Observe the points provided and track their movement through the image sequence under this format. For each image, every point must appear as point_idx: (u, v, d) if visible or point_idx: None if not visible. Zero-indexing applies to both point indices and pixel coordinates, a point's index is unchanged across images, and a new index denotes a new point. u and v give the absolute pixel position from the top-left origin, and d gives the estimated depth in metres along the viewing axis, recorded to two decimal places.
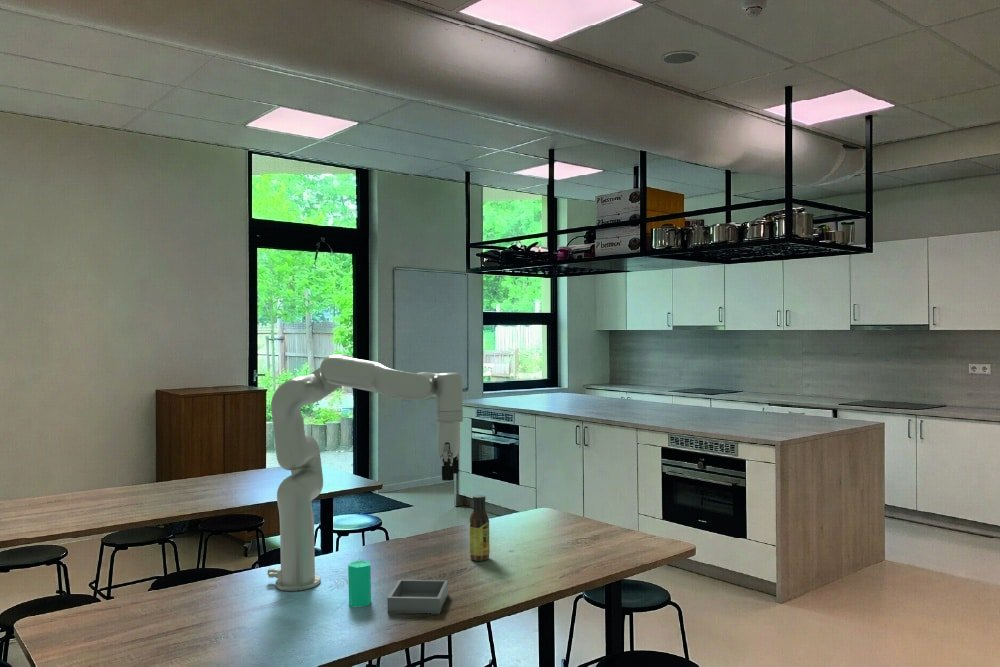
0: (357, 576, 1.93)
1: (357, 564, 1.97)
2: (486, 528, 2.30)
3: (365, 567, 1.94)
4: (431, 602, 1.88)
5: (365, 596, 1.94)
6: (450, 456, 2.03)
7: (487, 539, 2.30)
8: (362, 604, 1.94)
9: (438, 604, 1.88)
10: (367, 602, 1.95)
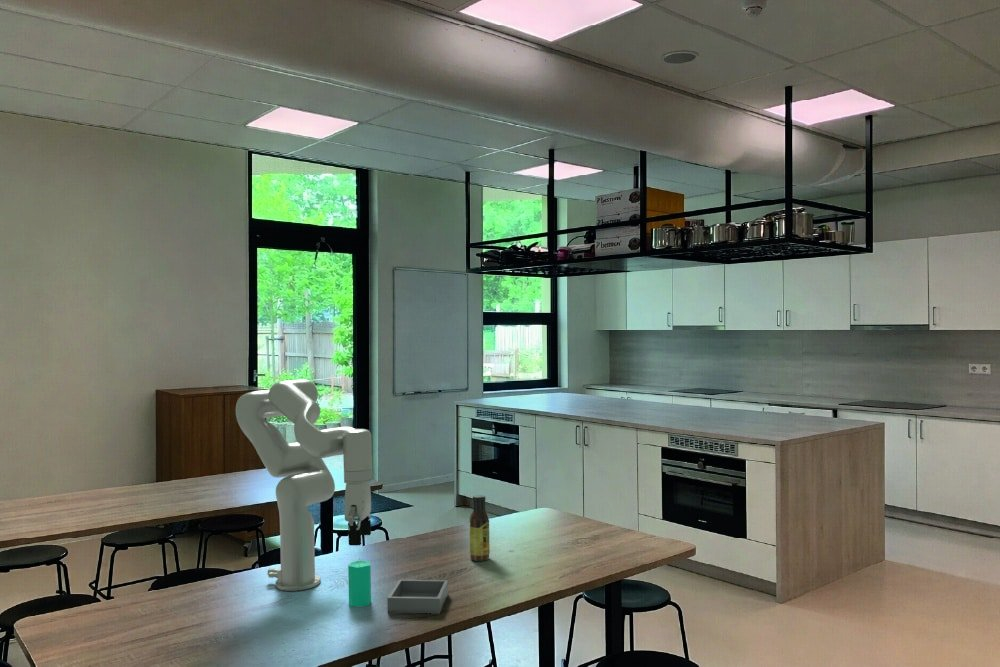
0: (357, 576, 1.93)
1: (357, 564, 1.97)
2: (486, 528, 2.30)
3: (365, 567, 1.94)
4: (431, 602, 1.88)
5: (365, 596, 1.94)
6: (357, 519, 1.91)
7: (487, 539, 2.30)
8: (362, 604, 1.94)
9: (438, 604, 1.88)
10: (367, 602, 1.95)
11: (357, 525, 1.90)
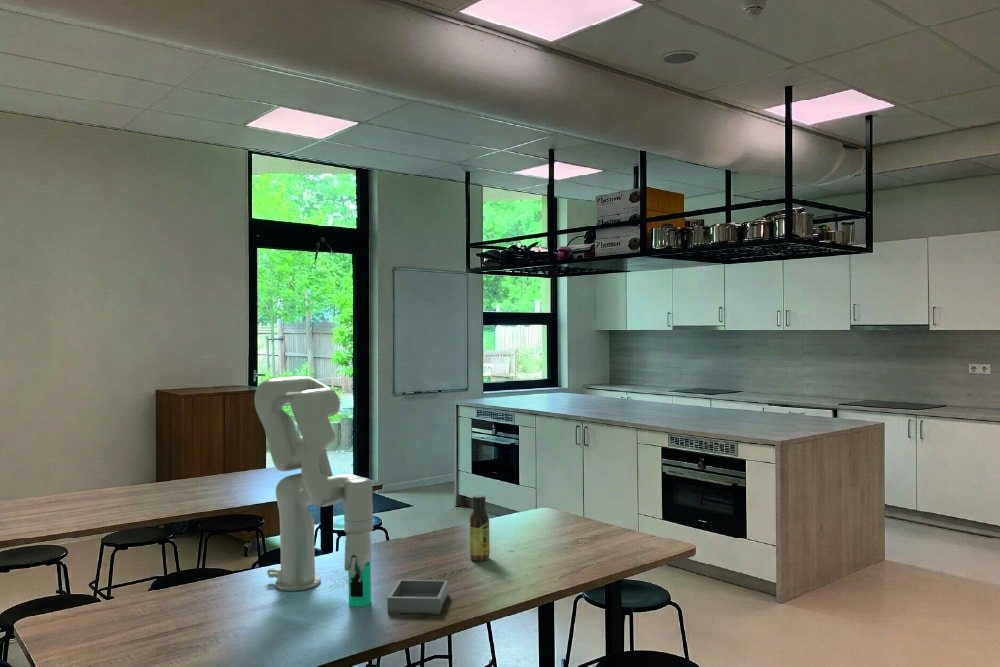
0: None
1: None
2: (486, 528, 2.30)
3: (365, 567, 1.94)
4: (431, 602, 1.88)
5: (365, 596, 1.94)
6: (358, 571, 1.93)
7: (487, 539, 2.30)
8: (362, 604, 1.94)
9: (438, 604, 1.88)
10: (367, 602, 1.94)
11: (359, 578, 1.92)
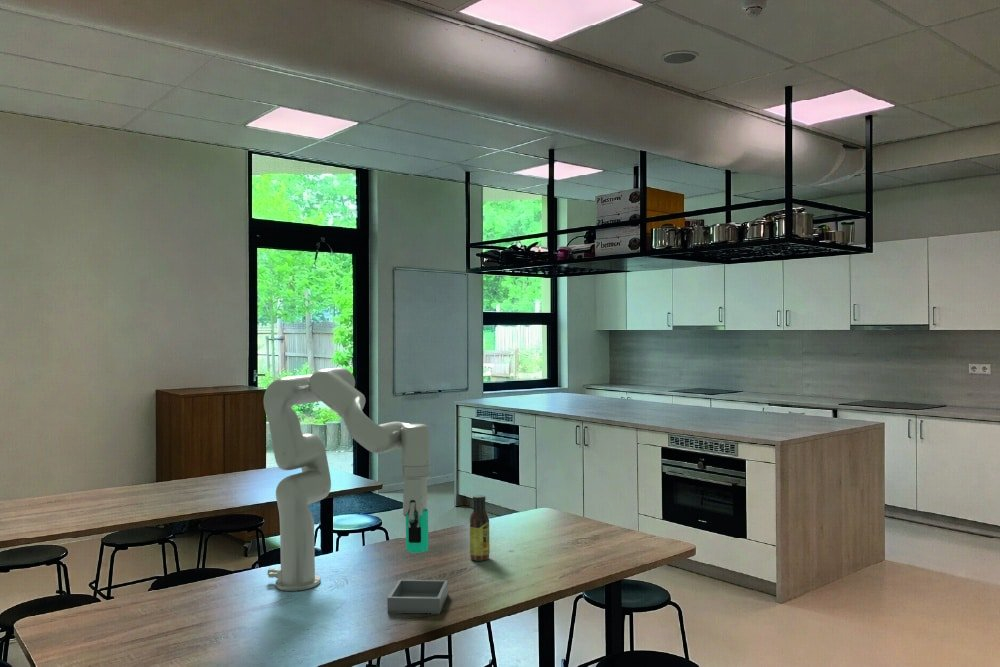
0: None
1: None
2: (486, 528, 2.30)
3: (423, 513, 1.93)
4: (431, 602, 1.88)
5: (423, 542, 1.93)
6: (417, 517, 1.91)
7: (487, 539, 2.30)
8: (420, 550, 1.92)
9: (438, 604, 1.88)
10: (425, 548, 1.93)
11: (417, 523, 1.91)
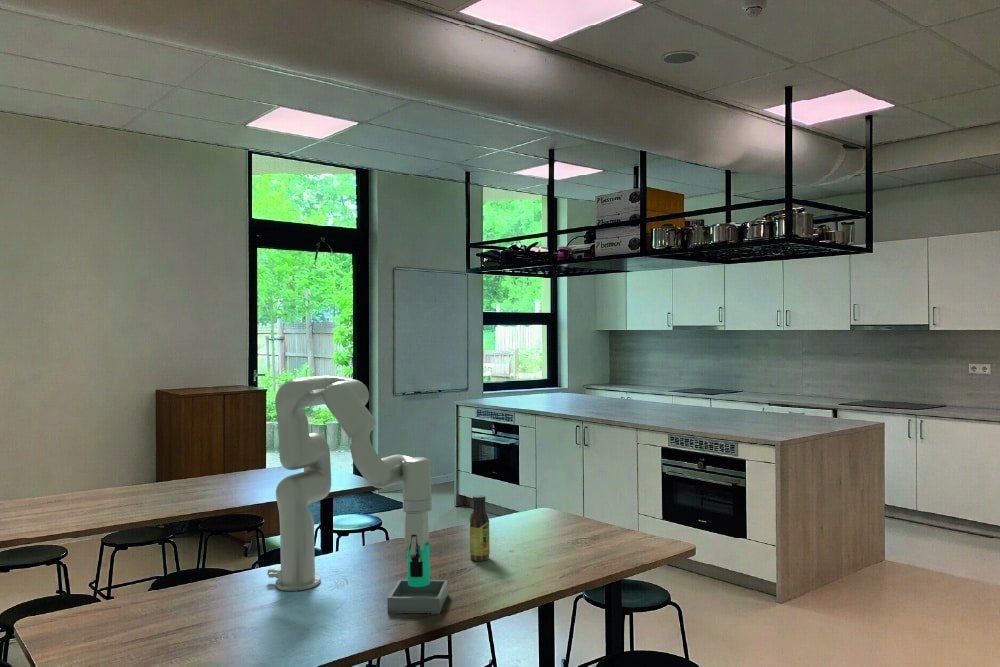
0: None
1: None
2: (486, 528, 2.30)
3: (425, 547, 1.93)
4: (431, 602, 1.88)
5: (425, 576, 1.93)
6: (418, 551, 1.91)
7: (487, 539, 2.30)
8: (422, 584, 1.92)
9: (438, 604, 1.88)
10: (427, 582, 1.93)
11: (419, 558, 1.91)
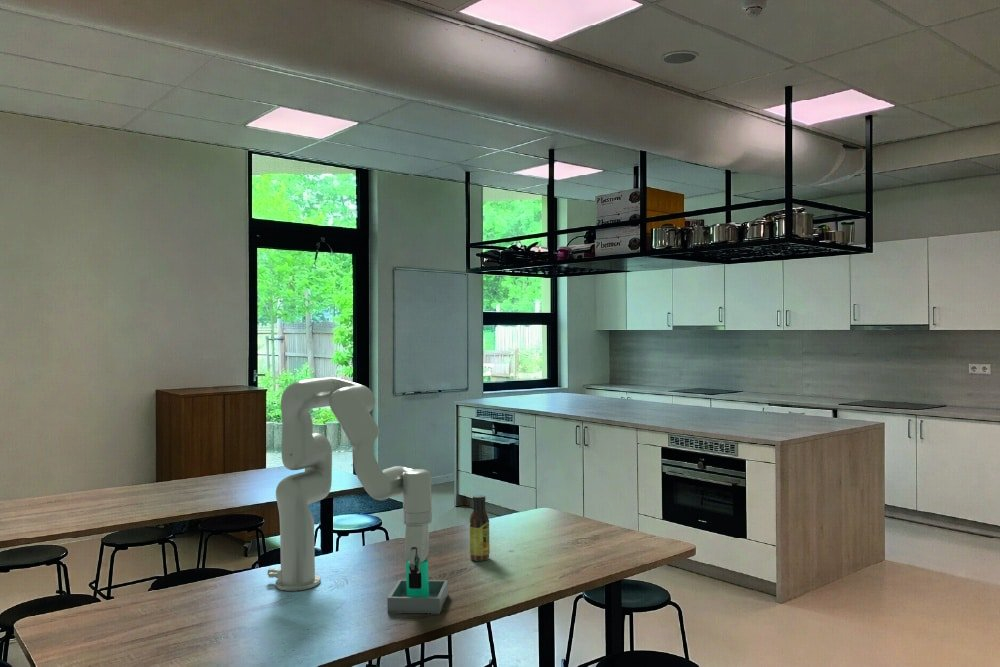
0: None
1: None
2: (486, 528, 2.30)
3: (423, 563, 1.93)
4: (431, 602, 1.88)
5: (424, 593, 1.93)
6: (417, 562, 1.90)
7: (487, 539, 2.30)
8: None
9: (438, 604, 1.88)
10: None
11: (418, 569, 1.89)
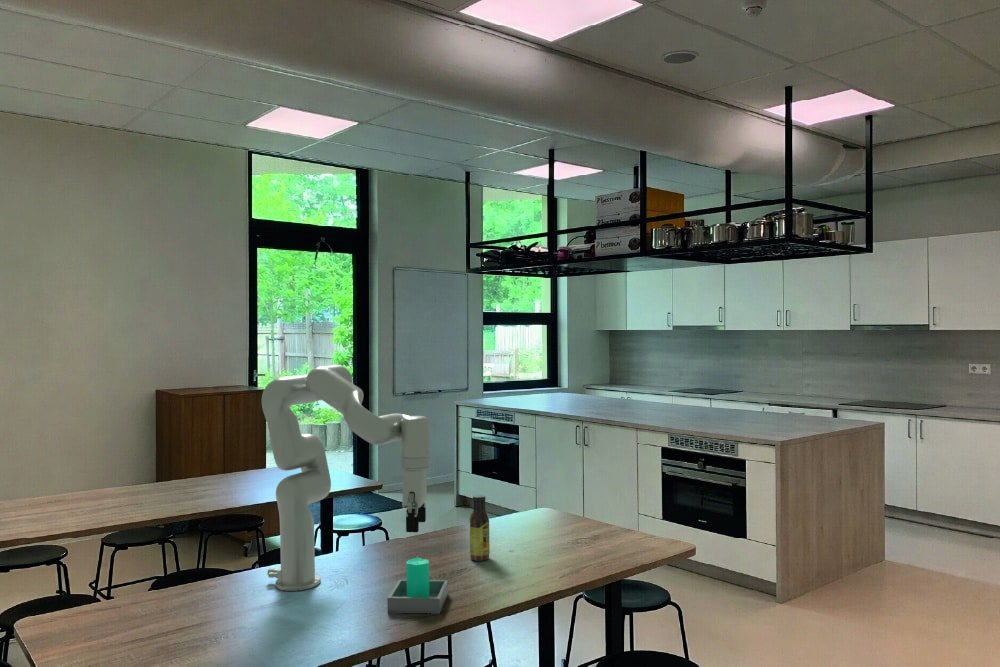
0: (416, 574, 1.92)
1: (415, 562, 1.96)
2: (486, 528, 2.30)
3: (424, 565, 1.93)
4: (431, 602, 1.88)
5: (424, 594, 1.93)
6: (415, 506, 1.90)
7: (487, 539, 2.30)
8: None
9: (438, 604, 1.88)
10: None
11: (415, 512, 1.89)
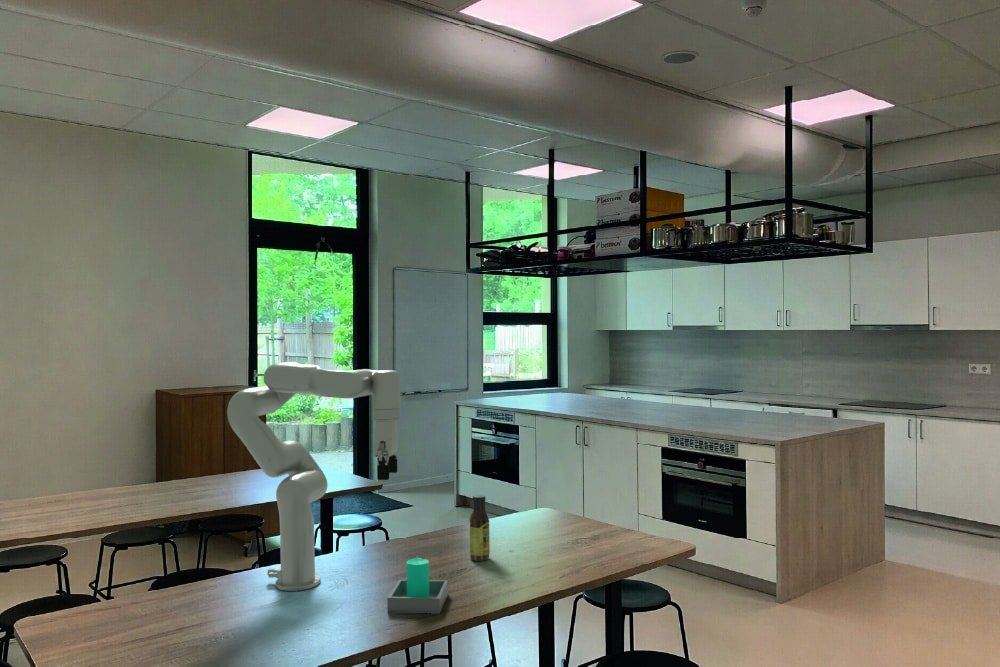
0: (416, 574, 1.92)
1: (415, 562, 1.96)
2: (486, 528, 2.30)
3: (424, 565, 1.93)
4: (431, 602, 1.88)
5: (424, 594, 1.93)
6: (386, 455, 1.99)
7: (487, 539, 2.30)
8: None
9: (438, 604, 1.88)
10: None
11: (386, 460, 1.98)
